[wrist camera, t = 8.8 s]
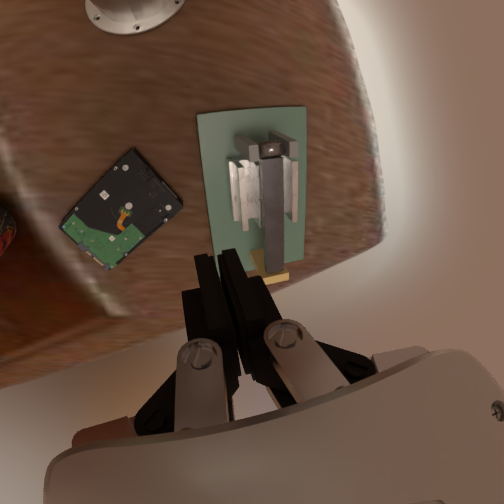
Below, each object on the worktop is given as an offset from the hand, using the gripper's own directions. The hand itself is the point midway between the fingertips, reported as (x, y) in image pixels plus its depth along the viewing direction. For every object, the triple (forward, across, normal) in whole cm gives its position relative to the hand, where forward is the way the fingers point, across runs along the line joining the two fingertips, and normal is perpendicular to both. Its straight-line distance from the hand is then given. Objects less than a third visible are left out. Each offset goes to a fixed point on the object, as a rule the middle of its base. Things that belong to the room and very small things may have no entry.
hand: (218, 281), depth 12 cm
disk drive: (+28, +10, +7) cm, 30 cm away
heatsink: (+26, -9, +6) cm, 28 cm away
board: (+27, -9, +8) cm, 30 cm away
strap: (+21, -9, +8) cm, 24 cm away
